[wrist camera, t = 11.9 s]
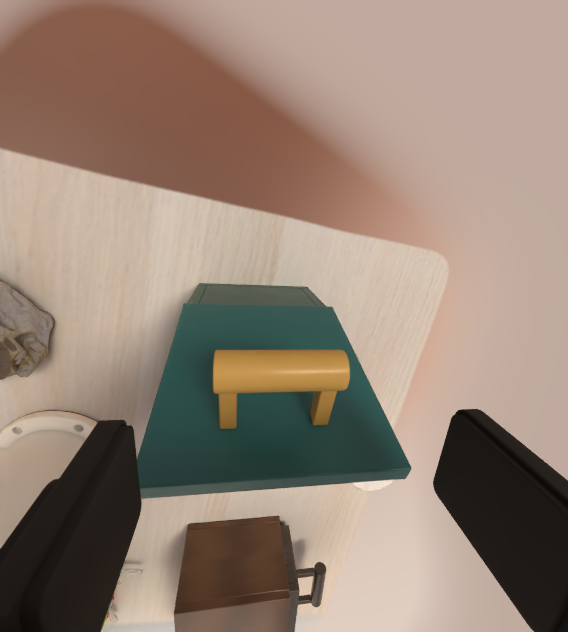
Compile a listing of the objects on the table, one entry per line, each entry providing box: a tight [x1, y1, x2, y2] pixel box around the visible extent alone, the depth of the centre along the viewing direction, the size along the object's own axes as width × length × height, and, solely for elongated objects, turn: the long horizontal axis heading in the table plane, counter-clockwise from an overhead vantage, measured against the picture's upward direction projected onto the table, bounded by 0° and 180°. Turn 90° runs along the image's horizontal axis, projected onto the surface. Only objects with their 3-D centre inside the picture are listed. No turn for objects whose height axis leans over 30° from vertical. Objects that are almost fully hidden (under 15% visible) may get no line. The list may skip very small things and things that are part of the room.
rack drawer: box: [280, 525, 326, 632], centre depth 37 cm, size 15×10×7 cm
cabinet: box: [174, 516, 290, 632], centre depth 36 cm, size 12×12×9 cm
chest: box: [188, 283, 326, 307], centre depth 27 cm, size 12×11×8 cm
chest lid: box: [137, 304, 411, 499], centre depth 15 cm, size 12×11×5 cm
